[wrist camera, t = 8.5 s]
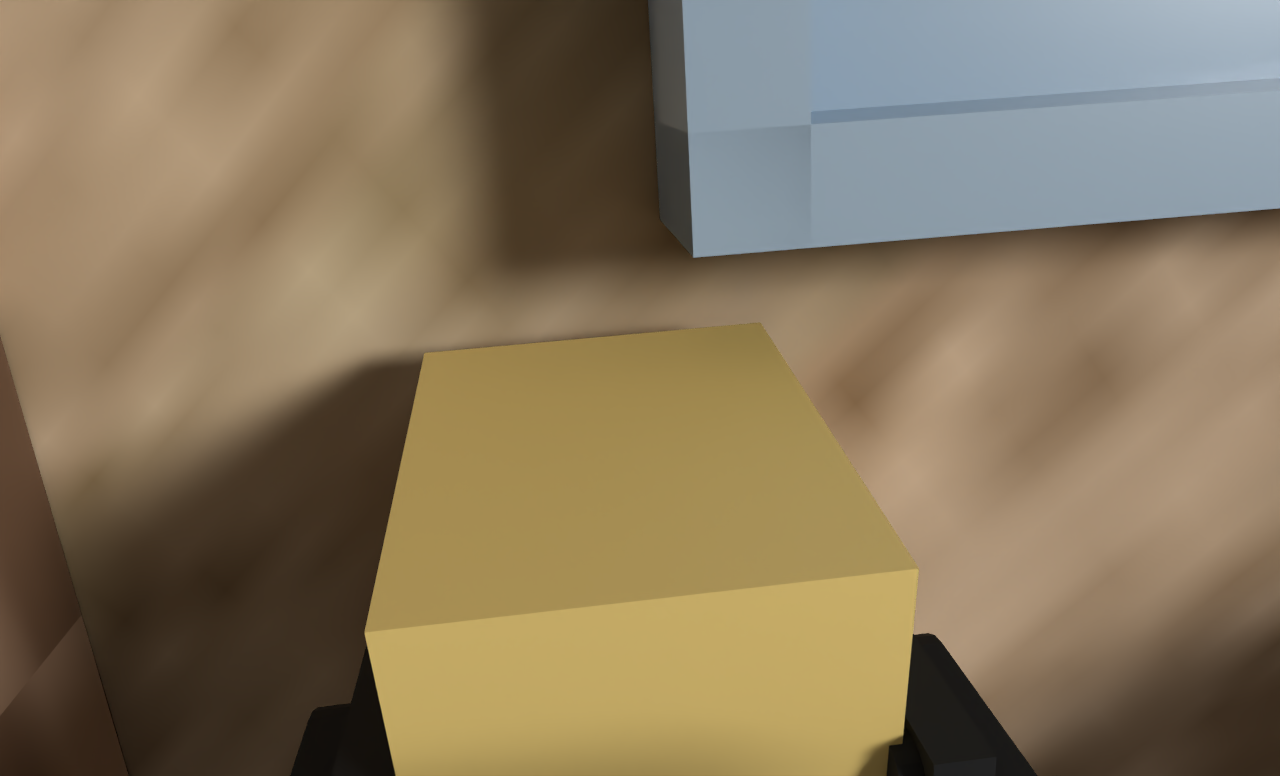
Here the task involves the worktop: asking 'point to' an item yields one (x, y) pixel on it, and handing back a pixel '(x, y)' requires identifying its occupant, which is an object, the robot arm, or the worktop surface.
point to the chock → (635, 569)
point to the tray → (957, 116)
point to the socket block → (42, 629)
